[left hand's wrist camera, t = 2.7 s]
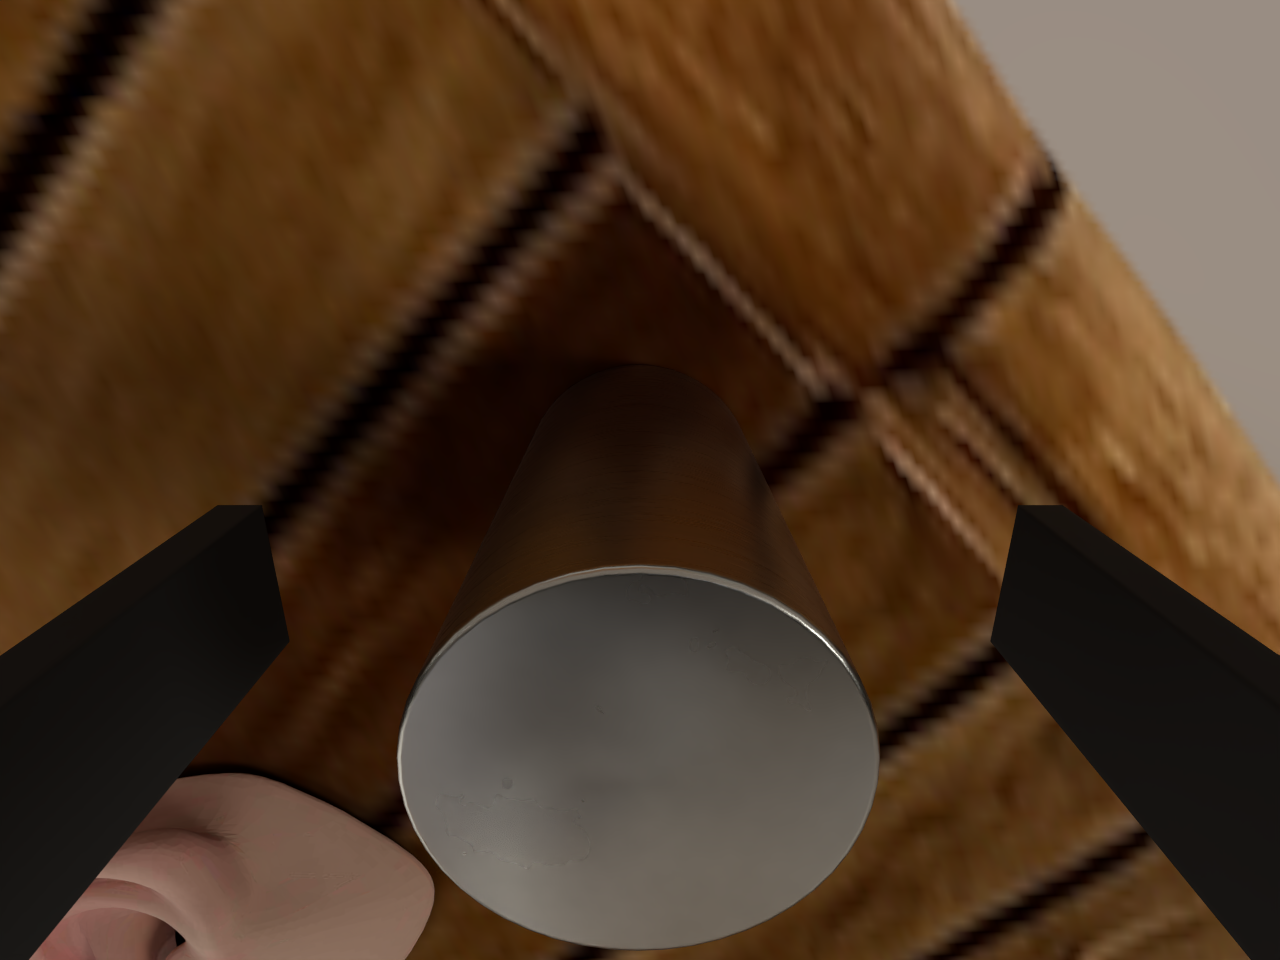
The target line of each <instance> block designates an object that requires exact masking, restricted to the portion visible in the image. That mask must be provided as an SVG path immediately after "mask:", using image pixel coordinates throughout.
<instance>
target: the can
mask: <svg viewBox="0 0 1280 960" xmlns="http://www.w3.org/2000/svg"><path fill="white" fill-rule="evenodd" d="M879 761H880V747H879V736H878V727H877V723H876V720H875V716H874V712H873V708H872V704H871V701H870V699H869V697H868V695H867V693H866V690H865V688H864V686H863V684H862V681H861V679H860V677H859V675H858V673H857V671H856V669H855V667H854V664H853V662H852V660H851V658H850V656H849V654H848V652H847V650H846V648H845V646H844V644H843V641H842V639H841V637H840V635H839V633H838V631H837V629H836V627H835V625H834V623H833V621H832V618H831V616H830V614H829V612H828V610H827V608H826V606H825V604H824V602H823V600H822V598H821V595H820V593H819V591H818V589H817V587H816V585H815V583H814V581H813V579H812V577H811V575H810V572H809V570H808V568H807V566H806V564H805V562H804V560H803V558H802V556H801V554H800V552H799V549H798V547H797V545H796V543H795V541H794V539H793V537H792V535H791V533H790V531H789V529H788V526H787V524H786V522H785V520H784V518H783V516H782V514H781V512H780V510H779V508H778V506H777V503H776V501H775V499H774V497H773V495H772V493H771V491H770V489H769V487H768V485H767V482H766V480H765V478H764V476H763V474H762V472H761V470H760V468H759V466H758V464H757V462H756V459H755V457H754V455H753V453H752V451H751V449H750V447H749V445H748V443H747V441H746V439H745V436H744V434H743V432H742V430H741V428H740V426H739V424H738V422H737V420H736V419H735V417H734V416H733V414H732V412H731V411H730V409H729V408H728V407H727V406H726V405H725V403H724V402H723V401H722V400H721V399H720V398H719V397H718V396H717V395H716V394H715V393H714V392H712V391H711V390H710V389H709V388H707V387H706V386H704V385H703V384H702V383H700V382H699V381H697V380H695V379H693V378H691V377H689V376H687V375H685V374H683V373H680V372H677V371H674V370H671V369H667V368H662V367H657V366H648V365H629V366H621V367H615V368H610V369H607V370H604V371H601V372H598V373H595V374H593V375H591V376H589V377H587V378H584V379H582V380H581V381H579V382H578V383H576V384H575V385H573V386H572V387H570V388H569V389H568V390H566V391H565V392H564V393H563V394H562V395H561V396H560V397H558V398H557V400H556V401H555V402H554V403H553V404H552V405H551V407H550V408H549V409H548V410H547V412H546V413H545V415H544V417H543V418H542V420H541V421H540V423H539V425H538V427H537V430H536V432H535V434H534V436H533V438H532V440H531V442H530V444H529V446H528V448H527V450H526V452H525V454H524V457H523V459H522V461H521V463H520V465H519V467H518V469H517V471H516V473H515V475H514V477H513V479H512V482H511V484H510V486H509V488H508V490H507V492H506V494H505V496H504V498H503V500H502V502H501V504H500V506H499V509H498V511H497V513H496V515H495V517H494V519H493V521H492V523H491V525H490V527H489V529H488V531H487V534H486V536H485V538H484V540H483V542H482V544H481V546H480V548H479V550H478V552H477V554H476V556H475V558H474V561H473V563H472V565H471V567H470V569H469V571H468V573H467V575H466V577H465V579H464V581H463V583H462V586H461V588H460V590H459V592H458V594H457V596H456V598H455V600H454V602H453V604H452V606H451V608H450V611H449V613H448V615H447V617H446V619H445V621H444V623H443V625H442V627H441V629H440V631H439V633H438V635H437V638H436V640H435V642H434V644H433V646H432V648H431V650H430V652H429V654H428V656H427V658H426V660H425V663H424V665H423V667H422V669H421V671H420V673H419V675H418V677H417V679H416V681H415V684H414V686H413V688H412V690H411V692H410V694H409V696H408V699H407V701H406V704H405V708H404V712H403V715H402V719H401V722H400V726H399V735H398V745H397V763H398V778H399V784H400V788H401V793H402V797H403V801H404V806H405V808H406V811H407V813H408V816H409V818H410V821H411V823H412V826H413V828H414V830H415V832H416V833H417V835H418V837H419V839H420V840H421V842H422V844H423V845H424V847H425V849H426V851H427V852H428V853H429V854H430V856H431V857H432V858H433V859H434V861H435V862H436V863H437V865H438V866H439V867H440V868H441V870H442V871H443V872H444V873H445V874H446V875H447V876H448V877H449V878H450V879H451V880H452V881H453V882H454V883H455V884H456V885H458V886H459V887H460V888H461V889H462V890H463V891H464V892H466V893H467V894H468V895H470V896H471V897H472V898H474V899H475V900H476V901H477V902H479V903H480V904H481V905H483V906H485V907H486V908H488V909H490V910H491V911H493V912H495V913H496V914H498V915H500V916H501V917H503V918H505V919H507V920H509V921H511V922H513V923H515V924H518V925H520V926H522V927H524V928H526V929H528V930H531V931H534V932H537V933H540V934H543V935H545V936H548V937H551V938H554V939H558V940H562V941H566V942H570V943H575V944H579V945H583V946H590V947H597V948H604V949H615V950H636V951H640V950H663V949H672V948H679V947H686V946H694V945H698V944H702V943H706V942H711V941H715V940H719V939H722V938H725V937H728V936H731V935H734V934H737V933H740V932H743V931H746V930H748V929H750V928H753V927H755V926H757V925H759V924H761V923H763V922H766V921H768V920H770V919H772V918H774V917H775V916H777V915H779V914H780V913H782V912H784V911H785V910H787V909H789V908H790V907H792V906H794V905H795V904H796V903H798V902H799V901H800V900H802V899H803V898H804V897H806V896H807V895H808V894H810V893H811V892H812V891H814V890H815V889H816V888H817V887H818V886H819V885H820V884H821V883H822V882H823V881H824V880H825V879H826V878H827V877H828V876H829V875H831V874H832V873H833V872H834V870H835V869H836V868H837V867H838V865H839V864H840V863H841V862H842V860H843V859H844V858H845V857H846V855H847V854H848V853H849V852H850V850H851V848H852V847H853V845H854V843H855V842H856V840H857V838H858V837H859V835H860V833H861V831H862V830H863V827H864V825H865V822H866V820H867V818H868V815H869V813H870V810H871V808H872V804H873V800H874V796H875V792H876V788H877V783H878V775H879Z"/></svg>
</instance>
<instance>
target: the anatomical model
mask: <svg viewBox="0 0 1280 960" xmlns="http://www.w3.org/2000/svg"><path fill="white" fill-rule="evenodd" d="M434 891H435V890H434V884H433V881H432V878H431V876H430V874H429V873H428V871H427V870H426V868H425V867H424V866H423V865H422V864H421V863H420V862H419V861H418V860H417V859H416V858H415V857H414V856H413V855H412V854H410V853H409V852H407V851H406V850H405V849H403V848H402V847H401V846H399V845H398V844H397V843H395V842H394V841H392V840H391V839H389V838H387V837H386V836H384V835H382V834H381V833H379V832H377V831H376V830H374V829H373V828H371V827H369V826H368V825H366V824H364V823H363V822H361V821H359V820H358V819H356V818H354V817H353V816H351V815H349V814H348V813H346V812H344V811H342V810H340V809H338V808H336V807H334V806H332V805H330V804H328V803H326V802H324V801H322V800H320V799H318V798H315V797H313V796H311V795H309V794H306V793H304V792H302V791H299V790H297V789H295V788H293V787H290V786H288V785H286V784H284V783H281V782H278V781H275V780H272V779H269V778H266V777H262V776H257V775H252V774H245V773H220V774H207V775H199V776H191V777H184V778H179V779H176V781H175V782H174V783H173V784H172V786H171V787H170V788H169V789H168V790H167V792H166V793H165V794H164V795H163V797H162V798H161V799H160V800H159V801H158V803H157V804H156V805H155V806H154V808H153V809H152V810H151V811H150V812H149V814H148V815H147V816H146V817H145V819H144V820H143V821H142V822H141V823H140V825H139V826H138V827H137V828H136V830H135V831H134V832H133V833H132V834H131V836H130V837H129V838H128V839H127V841H126V842H125V843H124V844H123V845H122V847H121V848H120V849H119V850H118V852H117V853H116V854H115V855H114V856H113V858H112V859H111V860H110V861H109V863H108V864H107V865H106V866H105V867H104V869H103V870H102V871H101V872H100V874H99V875H98V876H97V877H96V878H95V880H94V881H93V882H92V883H91V885H90V886H89V887H88V888H87V889H86V891H85V892H84V893H83V894H82V896H81V897H80V898H79V899H78V900H77V902H76V903H75V904H74V905H73V907H72V908H71V909H70V910H69V911H68V913H67V914H66V915H65V916H64V918H63V919H62V920H61V921H60V922H59V924H58V925H57V926H56V927H55V929H54V930H53V931H52V932H51V933H50V935H49V936H48V937H47V938H46V940H45V941H44V942H43V943H42V944H41V946H40V947H39V948H38V949H37V951H36V952H35V953H34V954H33V955H32V957H31V958H30V959H29V960H405V959H406V957H407V956H408V954H409V953H410V952H411V950H412V948H413V947H414V945H415V943H416V942H417V940H418V938H419V936H420V935H421V933H422V931H423V929H424V927H425V925H426V922H427V920H428V918H429V915H430V912H431V909H432V906H433V902H434Z"/></svg>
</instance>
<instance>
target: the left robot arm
mask: <svg viewBox="0 0 1280 960" xmlns="http://www.w3.org/2000/svg"><path fill="white" fill-rule="evenodd" d="M288 643H289V636H288V631H287V626H286V621H285V616H284V612H283V607H282V602H281V597H280V592H279V587H278V582H277V577H276V572H275V568H274V563H273V558H272V553H271V548H270V543H269V538H268V533H267V528H266V524H265V519H264V514H263V509H262V505H217V506H216V507H214V508H213V509H212V510H210V511H209V512H207V513H206V514H204V515H203V516H201V517H200V518H199V519H197V520H196V521H194V522H193V523H191V524H190V525H188V526H187V527H186V528H184V529H183V530H181V531H180V532H178V533H177V534H176V535H174V536H173V537H171V538H170V539H168V540H167V541H165V542H164V543H163V544H161V545H160V546H158V547H157V548H155V549H154V550H152V551H151V552H150V553H148V554H147V555H145V556H144V557H142V558H141V559H139V560H138V561H137V562H135V563H134V564H132V565H131V566H129V567H128V568H126V569H125V570H124V571H122V572H121V573H119V574H118V575H116V576H115V577H113V578H112V579H111V580H109V581H108V582H106V583H105V584H103V585H102V586H100V587H99V588H98V589H96V590H95V591H93V592H92V593H90V594H89V595H87V596H86V597H85V598H83V599H82V600H80V601H79V602H77V603H76V604H74V605H73V606H72V607H70V608H69V609H67V610H66V611H64V612H63V613H61V614H60V615H59V616H57V617H56V618H54V619H53V620H51V621H50V622H48V623H47V624H46V625H44V626H43V627H41V628H40V629H38V630H37V631H35V632H34V633H33V634H31V635H30V636H28V637H27V638H25V639H24V640H22V641H21V642H20V643H18V644H17V645H15V646H14V647H12V648H11V649H9V650H8V651H7V652H5V653H4V654H2V655H1V656H0V960H29V959H30V958H31V957H32V955H33V954H34V953H35V952H36V951H37V949H38V948H39V947H40V946H41V944H42V943H43V942H44V941H45V940H46V938H47V937H48V936H49V935H50V933H51V932H52V931H53V930H54V929H55V927H56V926H57V925H58V924H59V922H60V921H61V920H62V919H63V918H64V916H65V915H66V914H67V913H68V911H69V910H70V909H71V908H72V907H73V905H74V904H75V903H76V902H77V900H78V899H79V898H80V897H81V896H82V894H83V893H84V892H85V891H86V889H87V888H88V887H89V886H90V885H91V883H92V882H93V881H94V880H95V878H96V877H97V876H98V875H99V874H100V872H101V871H102V870H103V869H104V867H105V866H106V865H107V864H108V863H109V861H110V860H111V859H112V858H113V856H114V855H115V854H116V853H117V852H118V850H119V849H120V848H121V847H122V845H123V844H124V843H125V842H126V841H127V839H128V838H129V837H130V836H131V834H132V833H133V832H134V831H135V830H136V828H137V827H138V826H139V825H140V823H141V822H142V821H143V820H144V819H145V817H146V816H147V815H148V814H149V812H150V811H151V810H152V809H153V808H154V806H155V805H156V804H157V803H158V801H159V800H160V799H161V798H162V797H163V795H164V794H165V793H166V792H167V790H168V789H169V788H170V787H171V786H172V784H173V783H174V782H175V781H176V779H177V778H178V777H179V776H180V775H181V773H182V772H183V771H184V770H185V768H186V767H187V766H188V765H189V764H190V762H191V761H192V760H193V759H194V757H195V756H196V755H197V754H198V753H199V751H200V750H201V749H202V748H203V746H204V745H205V744H206V743H207V742H208V740H209V739H210V738H211V737H212V735H213V734H214V733H215V732H216V731H217V729H218V728H219V727H220V726H221V724H222V723H223V722H224V721H225V720H226V718H227V717H228V716H229V715H230V713H231V712H232V711H233V710H234V709H235V707H236V706H237V705H238V704H239V702H240V701H241V700H242V699H243V698H244V696H245V695H246V694H247V693H248V691H249V690H250V689H251V688H252V687H253V685H254V684H255V683H256V682H257V680H258V679H259V678H260V677H261V676H262V674H263V673H264V672H265V671H266V669H267V668H268V667H269V666H270V665H271V663H272V662H273V661H274V660H275V658H276V657H277V656H278V655H279V654H280V652H281V651H282V650H283V649H284V647H285V646H286V645H287V644H288ZM991 643H992V644H993V645H994V646H995V647H996V649H997V650H998V651H999V652H1000V654H1001V655H1002V656H1003V657H1004V658H1005V660H1006V661H1007V662H1008V663H1009V665H1010V666H1011V667H1012V668H1013V669H1014V671H1015V672H1016V673H1017V674H1018V676H1019V677H1020V678H1021V679H1022V680H1023V682H1024V683H1025V684H1026V685H1027V687H1028V688H1029V689H1030V690H1031V691H1032V693H1033V694H1034V695H1035V696H1036V698H1037V699H1038V700H1039V701H1040V702H1041V704H1042V705H1043V706H1044V707H1045V709H1046V710H1047V711H1048V712H1049V713H1050V715H1051V716H1052V717H1053V718H1054V720H1055V721H1056V722H1057V723H1058V724H1059V726H1060V727H1061V728H1062V729H1063V731H1064V732H1065V733H1066V734H1067V735H1068V737H1069V738H1070V739H1071V740H1072V742H1073V743H1074V744H1075V745H1076V746H1077V748H1078V749H1079V750H1080V751H1081V753H1082V754H1083V755H1084V756H1085V757H1086V759H1087V760H1088V761H1089V762H1090V764H1091V765H1092V766H1093V767H1094V768H1095V770H1096V771H1097V772H1098V773H1099V775H1100V776H1101V777H1102V778H1103V779H1104V781H1105V782H1106V783H1107V784H1108V786H1109V787H1110V788H1111V789H1112V790H1113V792H1114V793H1115V794H1116V795H1117V797H1118V798H1119V799H1120V800H1121V801H1122V803H1123V804H1124V805H1125V806H1126V808H1127V809H1128V810H1129V811H1130V812H1131V814H1132V815H1133V816H1134V817H1135V819H1136V820H1137V821H1138V822H1139V823H1140V825H1141V826H1142V827H1143V828H1144V830H1145V831H1146V832H1147V833H1148V834H1149V836H1150V837H1151V838H1152V839H1153V841H1154V842H1155V843H1156V844H1157V845H1158V847H1159V848H1160V849H1161V850H1162V852H1163V853H1164V854H1165V855H1166V856H1167V858H1168V859H1169V860H1170V861H1171V863H1172V864H1173V865H1174V866H1175V867H1176V869H1177V870H1178V871H1179V872H1180V874H1181V875H1182V876H1183V877H1184V878H1185V880H1186V881H1187V882H1188V883H1189V885H1190V886H1191V887H1192V888H1193V889H1194V891H1195V892H1196V893H1197V894H1198V896H1199V897H1200V898H1201V899H1202V900H1203V902H1204V903H1205V904H1206V905H1207V907H1208V908H1209V909H1210V910H1211V911H1212V913H1213V914H1214V915H1215V916H1216V918H1217V919H1218V920H1219V921H1220V922H1221V924H1222V925H1223V926H1224V927H1225V929H1226V930H1227V931H1228V932H1229V933H1230V935H1231V936H1232V937H1233V938H1234V940H1235V941H1236V942H1237V943H1238V944H1239V946H1240V947H1241V948H1242V949H1243V951H1244V952H1245V953H1246V954H1247V955H1248V957H1249V958H1250V959H1251V960H1280V655H1278V654H1276V653H1275V652H1273V651H1272V650H1271V649H1269V648H1268V647H1266V646H1265V645H1263V644H1262V643H1260V642H1259V641H1258V640H1256V639H1255V638H1253V637H1252V636H1250V635H1249V634H1247V633H1246V632H1245V631H1243V630H1242V629H1240V628H1239V627H1237V626H1236V625H1234V624H1233V623H1232V622H1230V621H1229V620H1227V619H1226V618H1224V617H1223V616H1221V615H1220V614H1219V613H1217V612H1216V611H1214V610H1213V609H1211V608H1210V607H1208V606H1207V605H1206V604H1204V603H1203V602H1201V601H1200V600H1198V599H1197V598H1195V597H1194V596H1193V595H1191V594H1190V593H1188V592H1187V591H1185V590H1184V589H1182V588H1181V587H1180V586H1178V585H1177V584H1175V583H1174V582H1172V581H1171V580H1169V579H1168V578H1167V577H1165V576H1164V575H1162V574H1161V573H1159V572H1158V571H1156V570H1155V569H1154V568H1152V567H1151V566H1149V565H1148V564H1146V563H1145V562H1143V561H1142V560H1141V559H1139V558H1138V557H1136V556H1135V555H1133V554H1132V553H1130V552H1129V551H1128V550H1126V549H1125V548H1123V547H1122V546H1120V545H1119V544H1117V543H1116V542H1115V541H1113V540H1112V539H1110V538H1109V537H1107V536H1106V535H1104V534H1103V533H1102V532H1100V531H1099V530H1097V529H1096V528H1094V527H1093V526H1092V525H1090V524H1089V523H1087V522H1086V521H1084V520H1083V519H1081V518H1080V517H1079V516H1077V515H1076V514H1074V513H1073V512H1071V511H1070V510H1068V509H1067V508H1066V507H1064V506H1063V505H1018V509H1017V514H1016V519H1015V524H1014V528H1013V533H1012V538H1011V543H1010V548H1009V553H1008V558H1007V563H1006V568H1005V572H1004V577H1003V582H1002V587H1001V592H1000V597H999V602H998V607H997V612H996V616H995V621H994V626H993V631H992V636H991Z"/></svg>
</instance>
